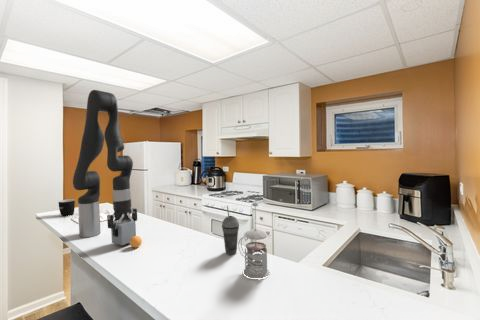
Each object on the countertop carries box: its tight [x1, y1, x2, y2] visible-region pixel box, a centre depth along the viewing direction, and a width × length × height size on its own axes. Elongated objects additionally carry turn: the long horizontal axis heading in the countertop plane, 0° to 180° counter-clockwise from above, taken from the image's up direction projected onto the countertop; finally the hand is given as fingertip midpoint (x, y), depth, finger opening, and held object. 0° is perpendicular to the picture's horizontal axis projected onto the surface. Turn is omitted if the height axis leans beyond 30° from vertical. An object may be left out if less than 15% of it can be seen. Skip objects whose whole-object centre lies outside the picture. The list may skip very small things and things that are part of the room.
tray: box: [71, 210, 112, 224], centre depth 158 cm, size 20×28×4 cm
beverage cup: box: [221, 205, 240, 256], centre depth 101 cm, size 7×7×20 cm
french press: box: [237, 202, 271, 278], centre depth 85 cm, size 10×12×25 cm
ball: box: [129, 235, 143, 249], centre depth 109 cm, size 5×5×5 cm
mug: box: [58, 198, 76, 217], centre depth 164 cm, size 12×9×10 cm
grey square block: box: [110, 220, 137, 246], centre depth 112 cm, size 7×7×9 cm
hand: (123, 233), depth 112 cm, fingers closed on grey square block, 7 cm apart
